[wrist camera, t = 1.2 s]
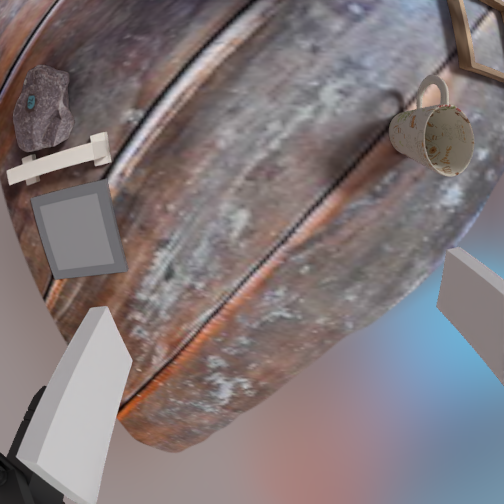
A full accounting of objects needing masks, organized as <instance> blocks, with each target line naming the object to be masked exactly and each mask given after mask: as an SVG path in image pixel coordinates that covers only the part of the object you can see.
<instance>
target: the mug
mask: <svg viewBox="0 0 504 504" xmlns="http://www.w3.org/2000/svg"><path fill="white" fill-rule="evenodd" d="M430 84H435V85H437V86H438V88H439V89H440V92H441V104H440V105H435V106H430V107H425V108H422V98H423V94H424V91H425V89H426V88H427V87H428V86H429V85H430ZM448 101H449V95H448V87H447V85H446V83H445V82H444V81H443V79H441V78H440V77H439V76H437V75H429V76H427V77H426V78H425V79H424V80H423V81H422V83H421V85H420V87H419V89H418V92H417V109H415V110H411V111H406V112H402V113H399V114H397V115H396V116H395V117H394V118H393V119H392V121H391V123H390V126H389V138H390V141H391V143H392V145H393V147H394V148H395V149H396V150H397V151H398V152H400V153H402V154H404V155H405V156H407V157H409V158H411V159H413V160H415V161H417V162H419V163H420V164H422V165H424V166H426V167H428V168H429V169H431V170H433V171H435V172H437V173H439V174H441V175H444V176H456V175H458V174H460V173H461V172H463V171H464V170H465V169H466V167H467V166H468V164H469V163H470V160H471V158H472V155H473V150H474V135H473V130H472V127H471V124H470V122H469V120H468V118H467V117H466V115H465V114H464V113H463V112H462V111H461V110H460V109H458V108H457V107H455V106H452V105H448Z"/></svg>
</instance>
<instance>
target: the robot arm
mask: <svg viewBox="0 0 504 504" xmlns="http://www.w3.org/2000/svg"><path fill="white" fill-rule="evenodd" d="M437 308H438V309H439V310H440V311H441V312H442V313H443V315H444V316H445V317H446V318H447V319H448V320H449V321H450V322H451V323H452V324H453V325H454V326H455V328H456V329H457V330H458V331H459V332H460V333H461V335H462V336H463V337H464V338H465V339H466V340H467V341H468V343H469V344H470V345H471V346H472V347H473V348H474V350H475V351H476V352H477V353H478V354H479V355H480V357H481V358H482V359H483V360H484V362H485V363H486V364H487V365H488V367H489V368H490V369H491V370H492V372H493V373H494V374H495V375H496V377H497V378H498V379H499V380H500V382H501V383H502V384H503V386H504V279H502V278H501V277H500V276H498V275H497V274H496V273H494V272H493V271H492V270H491V269H489V268H488V267H487V266H485V265H484V264H482V263H481V262H480V261H478V260H477V259H476V258H474V257H473V256H471V255H470V254H469V253H467V252H466V251H464V250H463V249H462V248H460V247H457V248H453V249H448V250H446V256H445V263H444V270H443V275H442V281H441V286H440V291H439V296H438V302H437ZM131 364H132V359H131V357H130V355H129V353H128V351H127V349H126V346H125V344H124V342H123V340H122V338H121V336H120V334H119V332H118V329H117V327H116V325H115V323H114V320H113V318H112V316H111V314H110V311H109V309H108V307H107V306H103V307H94V308H90V309H89V311H88V313H87V314H86V316H85V318H84V319H83V321H82V323H81V325H80V326H79V328H78V330H77V331H76V333H75V335H74V337H73V338H72V340H71V342H70V344H69V345H68V347H67V349H66V351H65V353H64V355H63V356H62V358H61V360H60V362H59V364H58V366H57V368H56V370H55V372H54V374H53V375H52V377H51V379H50V381H49V383H48V385H47V386H43V387H42V388H41V389H40V390H39V391H38V392H37V393H36V395H35V396H34V397H33V399H32V401H31V403H30V405H29V407H28V411H27V412H26V414H25V416H24V421H22V422H21V424H20V427H19V429H18V431H17V434H16V436H15V438H14V441H13V443H12V445H11V448H10V450H9V453H8V455H7V457H5V456H4V455H3V454H1V453H0V504H65V503H64V502H63V497H64V495H65V496H66V497H68V498H69V499H71V500H72V501H74V502H75V503H79V504H97V498H98V493H99V488H100V483H101V478H102V473H103V468H104V464H105V460H106V456H107V451H108V447H109V443H110V439H111V435H112V431H113V427H114V423H115V420H116V416H117V412H118V408H119V405H120V401H121V398H122V394H123V391H124V387H125V384H126V381H127V377H128V374H129V371H130V367H131Z"/></svg>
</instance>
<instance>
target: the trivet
mask: <svg viewBox="0 0 504 504" xmlns="http://www.w3.org/2000/svg"><path fill="white" fill-rule="evenodd" d="M30 199H31V203H32V207H33V211H34V215H35V219H36V222H37V226H38V229H39V233H40V236H41V240H42V243H43V246H44V249H45V252H46V256H47V259H48V261H49V264H50V267H51V270H52V273H53V276H54V278H55V279H64V278H74V277H83V276H92V275H101V274H110V273H119V272H127V271H128V265H127V262H126V258H125V254H124V251H123V247H122V243H121V239H120V235H119V231H118V227H117V222H116V218H115V214H114V209H113V205H112V200H111V195H110V190H109V185H108V180H107V179H103V180H98V181H94V182H89V183H85V184H81V185H77V186H73V187H69V188H65V189H61V190H57V191H53V192H49V193H46V194H42V195H39V196H35V197H32V198H30Z"/></svg>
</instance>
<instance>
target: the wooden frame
mask: <svg viewBox="0 0 504 504" xmlns="http://www.w3.org/2000/svg"><path fill="white" fill-rule="evenodd" d="M479 1H481V2H483V3H485V4H487V5H489V6H491V7H492V8H494V9H496V10H498V11H500V12H501V15H502V19H503V23H504V2H502V1H501V0H479ZM447 2H448V6H449V11H450V15H451V19H452V24H453V29H454V34H455V40H456V46H457V52H458V59H459V67H460V68H461V69H465V70H468V71H471V72H474V73H477V74H480V75H483V76H486V77H489V78H492V79H495V80H497V81H500V82H503V83H504V73H502V72H499V71H497V70H495V69H492V68H489V67H487V66H484V65H481V64H479V63H476V62H475V57H474V51H473V45H472V39H471V34H470V29H469V24H468V19H467V15H466V11H465V7H464V3H463V0H447Z"/></svg>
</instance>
